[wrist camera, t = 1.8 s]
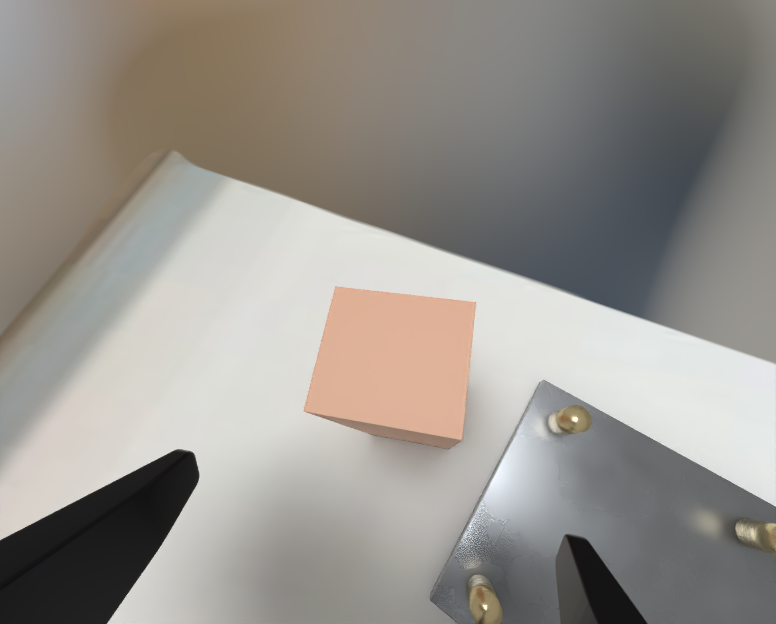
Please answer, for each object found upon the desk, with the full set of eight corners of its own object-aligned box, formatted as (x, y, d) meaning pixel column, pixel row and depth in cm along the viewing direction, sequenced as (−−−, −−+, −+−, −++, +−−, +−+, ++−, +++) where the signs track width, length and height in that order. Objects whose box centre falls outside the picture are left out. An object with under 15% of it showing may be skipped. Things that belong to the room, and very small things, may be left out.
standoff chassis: (704, 818, 14) (780, 922, 11) (430, 594, 17) (429, 623, 14) (788, 519, 17) (866, 533, 14) (539, 382, 20) (557, 369, 17)
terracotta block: (449, 448, 20) (462, 440, 9) (369, 433, 20) (303, 411, 10) (457, 377, 21) (475, 302, 11) (382, 365, 22) (335, 286, 12)
